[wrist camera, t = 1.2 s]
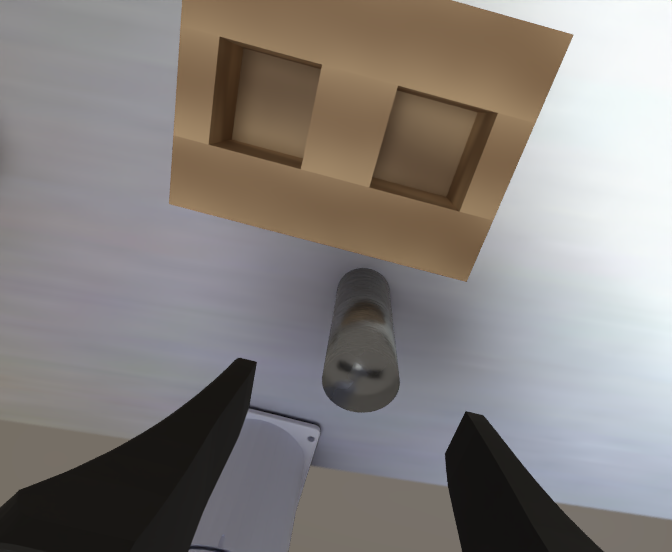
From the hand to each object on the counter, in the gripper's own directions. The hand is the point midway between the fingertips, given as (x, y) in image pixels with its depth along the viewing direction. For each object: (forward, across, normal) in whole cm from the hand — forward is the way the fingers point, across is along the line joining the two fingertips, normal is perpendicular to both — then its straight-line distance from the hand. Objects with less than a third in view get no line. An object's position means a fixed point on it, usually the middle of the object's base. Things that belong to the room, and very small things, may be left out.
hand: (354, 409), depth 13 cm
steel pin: (+10, 0, 0) cm, 10 cm away
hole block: (+10, +3, -8) cm, 13 cm away
